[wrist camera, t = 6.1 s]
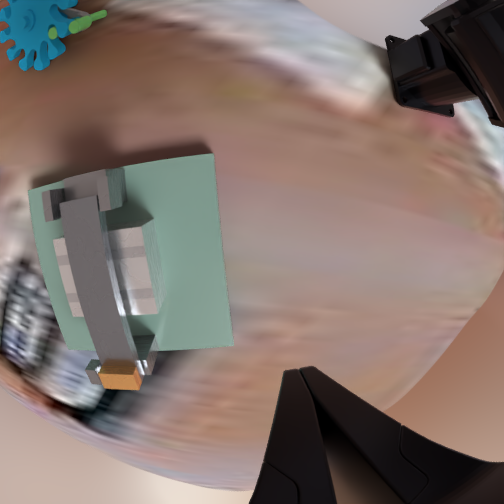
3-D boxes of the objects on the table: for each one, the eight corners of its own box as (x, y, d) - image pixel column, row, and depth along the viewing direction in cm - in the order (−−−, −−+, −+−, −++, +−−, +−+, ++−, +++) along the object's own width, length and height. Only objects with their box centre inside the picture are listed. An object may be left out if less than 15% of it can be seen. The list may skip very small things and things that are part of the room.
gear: (-10, 62, 10) (3, -33, 2) (34, 35, 13) (56, -48, 5) (61, 93, 14) (91, -28, 6) (106, 62, 17) (147, -35, 9)
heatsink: (154, 218, 16) (141, 226, 13) (166, 294, 17) (157, 313, 15) (74, 230, 16) (52, 239, 13) (90, 298, 17) (73, 316, 14)
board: (214, 154, 17) (213, 153, 15) (233, 336, 20) (234, 345, 19) (36, 189, 16) (27, 190, 14) (74, 341, 19) (68, 349, 18)
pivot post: (140, 168, 16) (106, 165, 11) (143, 199, 17) (110, 209, 12) (86, 178, 16) (40, 182, 11) (89, 208, 17) (45, 222, 11)
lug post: (158, 326, 19) (141, 372, 14) (162, 339, 20) (147, 386, 14) (111, 328, 19) (85, 369, 14) (115, 340, 19) (91, 383, 14)
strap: (66, 201, 12) (51, 204, 11) (102, 194, 12) (89, 196, 11) (112, 372, 15) (104, 388, 13) (144, 373, 15) (139, 389, 14)
